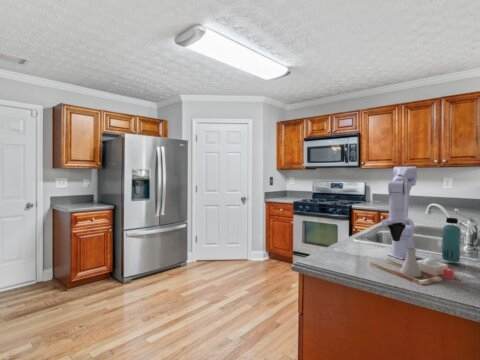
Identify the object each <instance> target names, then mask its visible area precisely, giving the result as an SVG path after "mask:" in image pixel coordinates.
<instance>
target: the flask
mask: <svg viewBox="0 0 480 360" xmlns="http://www.w3.org/2000/svg"><path fill="white" fill-rule="evenodd" d="M406 250H407V255H406V259H404V261H403V263H402V264H403V266H402V267H400V269H399V272H400V273H403V274H405V275H408V276H411V277H414V278H420V277H422V276H423V275H422V274H421V271H420V269H419V266H418V263H417V261H418V260H417V256H416V252H417V249H412V248H407V249H406Z"/></svg>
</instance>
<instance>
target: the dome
mask: <svg viewBox="0 0 480 360" xmlns="http://www.w3.org/2000/svg"><path fill="white" fill-rule="evenodd" d="M423 260H424V262H423V263H424V264H428V265H431V266H437V265H438V264H437V262H438V261H437V260H436V259H435V258H433V257H427V258H425V259H423Z"/></svg>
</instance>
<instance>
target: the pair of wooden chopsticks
mask: <svg viewBox="0 0 480 360" xmlns="http://www.w3.org/2000/svg"><path fill="white" fill-rule="evenodd" d="M386 263H388V264H391V265H393V266H396V267H399V268H402V266H403V263H401V262H397V261H394V260H391V259H388V258H387V259H386ZM369 266H371V267H373V268H376V269H379V270H382V271H384V272H387V273H390V274H391V275H395V276H398V277H400V278H403V279H405V280H408V281H410V282H412V283H416V284H418V285H427V284H432V283H437V282H442V281H443V276H440V275H438V276H436V275H433V274H430V273H427V272H424V271H421V270H420V271H421V274H422V276H424V277H428V278H426V279H418V278H417V277H411V276H408V275H405V274H403V273H400V271H396V270H394V269H392V268H389V267H386V266H383V265H381V264H378V263H375V262H372V261H369Z"/></svg>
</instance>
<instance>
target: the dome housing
mask: <svg viewBox="0 0 480 360" xmlns="http://www.w3.org/2000/svg"><path fill="white" fill-rule="evenodd" d="M424 260H425V259H419V260H416V261H417V263H418V266H419V269H420V270H421V271H424V272H427V273H430V274H433V275H436V276H443V269H445V268H448V269H449V267H448V264H445V263H443V262H439V261H437V264H438V265H437V266H431V265H428V264H424V263H423V262H424Z"/></svg>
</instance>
